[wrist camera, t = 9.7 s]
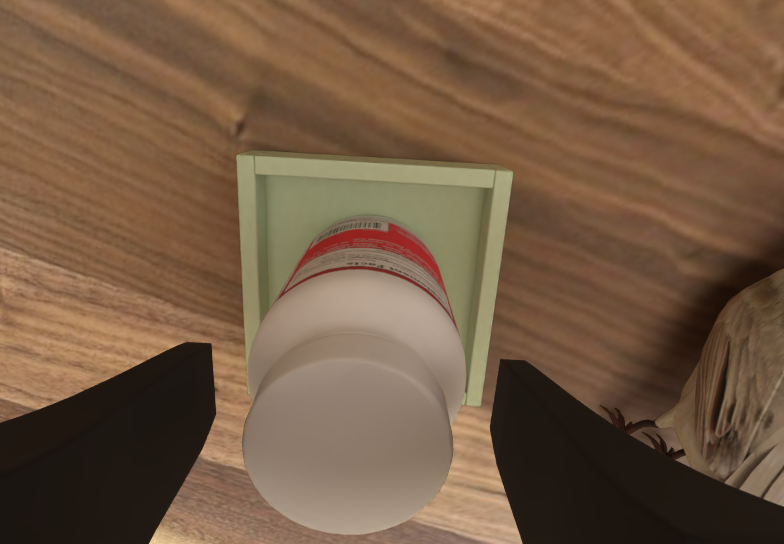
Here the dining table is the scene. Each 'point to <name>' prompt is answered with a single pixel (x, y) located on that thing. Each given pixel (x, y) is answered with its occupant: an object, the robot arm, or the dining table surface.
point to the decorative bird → (735, 397)
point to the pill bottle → (355, 382)
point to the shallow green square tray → (386, 199)
